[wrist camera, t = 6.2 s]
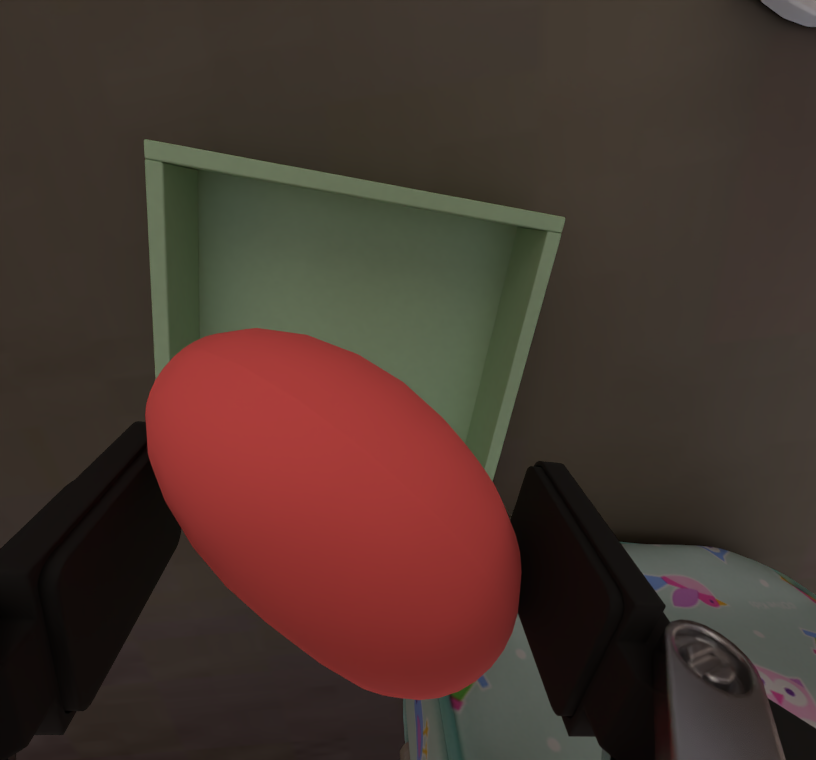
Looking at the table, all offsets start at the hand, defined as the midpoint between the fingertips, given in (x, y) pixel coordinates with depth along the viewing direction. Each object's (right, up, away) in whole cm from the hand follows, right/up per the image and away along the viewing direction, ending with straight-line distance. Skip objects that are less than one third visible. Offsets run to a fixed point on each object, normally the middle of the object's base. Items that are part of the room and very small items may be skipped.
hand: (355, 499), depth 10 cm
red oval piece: (0, +1, +1) cm, 1 cm away
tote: (-2, +4, +12) cm, 13 cm away
